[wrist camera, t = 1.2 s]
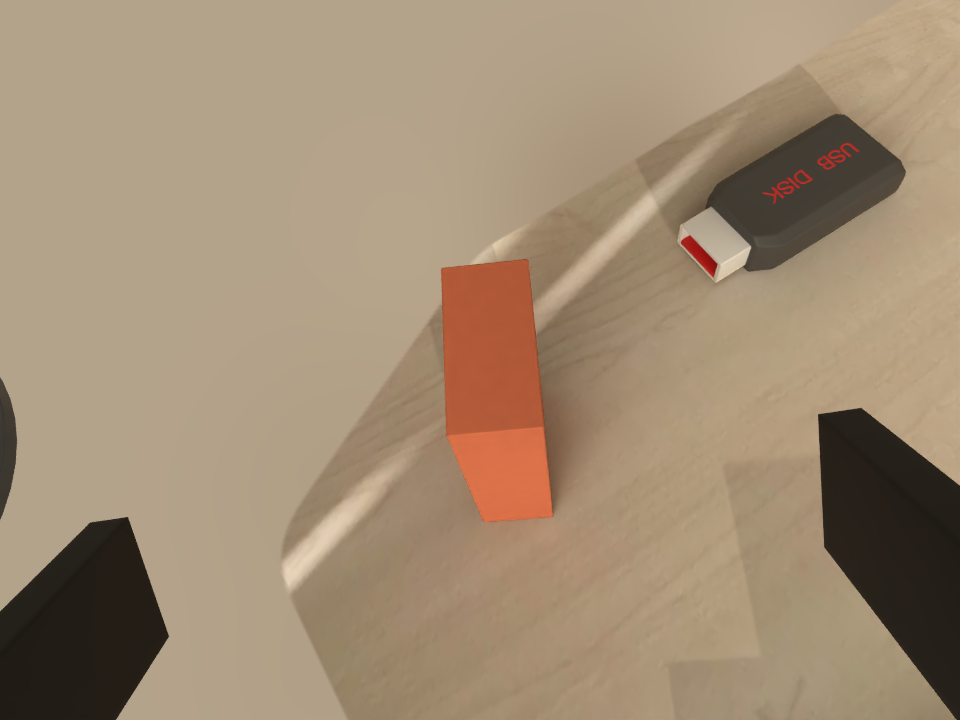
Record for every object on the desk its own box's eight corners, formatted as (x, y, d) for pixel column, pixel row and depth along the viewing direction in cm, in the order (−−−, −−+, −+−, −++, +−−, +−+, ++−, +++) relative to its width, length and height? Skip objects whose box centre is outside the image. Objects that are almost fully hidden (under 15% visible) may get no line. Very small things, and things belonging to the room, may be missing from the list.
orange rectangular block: (483, 522, 37) (446, 436, 27) (476, 391, 41) (440, 267, 30) (553, 516, 37) (544, 427, 26) (540, 385, 40) (527, 258, 30)
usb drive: (897, 191, 43) (916, 158, 41) (726, 298, 41) (736, 270, 39) (830, 134, 45) (845, 99, 43) (665, 233, 44) (671, 203, 41)
